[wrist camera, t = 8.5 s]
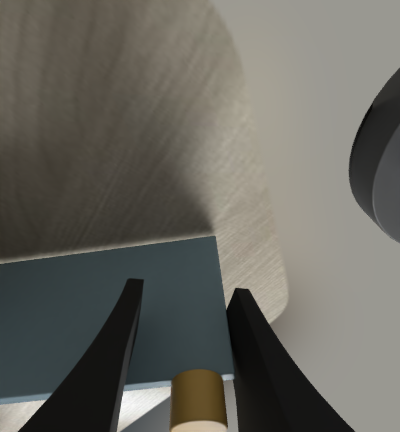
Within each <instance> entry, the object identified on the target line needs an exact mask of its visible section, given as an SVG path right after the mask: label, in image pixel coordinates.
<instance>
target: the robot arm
mask: <svg viewBox="0 0 400 432" xmlns="http://www.w3.org/2000/svg"><path fill="white" fill-rule="evenodd" d="M143 285H144V279H135V278H129V279H127V281H126V284H125V286H124V289H123V291H122V293H121V295H120V297H119V299H118V301H117V303H116V305H115V307H114V308H113V310H112V312H111V314H110V315H109V317H108V319H107V320H106V322H105V324H104V325H103V327H102V328H101V330H100V331H99V333H98V334H97V336H96V337H95V339H94V340H93V342H92V343H91V345H90V346H89V348H88V349H87V350H86V352H85V353H84V355H83V356H82V357H81V359H80V360H79V361H78V363H77V364H76V365H75V366H74V368H73V369H72V370H71V372H70V373H69V374H68V375H67V376H66V378H65V379H64V380H63V381H62V383H61V384H60V385H59V386H58V388H57V389H56V390H55V391H54V392H53V393H52V395H51V396H50V397H49V398H48V399H47V400H46V401H45V403H44V404H43V405H42V406H41V407H40V408H39V409H38V410H37V411H36V413H35V414H34V415H33V416H32V417H31V418H30V419H29V420H28V421H27V422H26V424H25V425H24V426H23V427H22V428H21V429H20V430H19V431H18V432H117V426H118V420H119V413H120V407H121V401H122V395H123V390H124V386H125V381H126V377H127V373H128V369H129V365H130V361H131V356H132V352H133V348H134V344H135V340H136V335H137V331H138V324H139V317H140V310H141V302H142V293H143ZM226 312H227V319H228V327H229V334H230V341H231V348H232V355H233V362H234V369H235V376H236V377H235V379H233V383H234V389H235V396H236V405H237V416H238V430H239V432H355V431H354V430H353V429H352V428H351V427H350V426H349V425H348V424H347V423H346V422H345V421H344V420H343V419H342V418H341V417H340V416H339V415H338V413H337V412H336V411H335V410H334V409H333V408H332V407H331V406H330V405H329V404H328V402H327V401H326V400H325V399H324V398H323V397H322V396H321V395H320V394H319V392H317V390H316V389H315V388H314V386H313V385H312V384H311V383H310V382H309V380H308V379H307V378H306V377H305V375H304V374H303V373H302V371H301V370H300V369H299V368H298V366H297V365H296V364H295V362H294V361H293V360H292V358H291V357H290V356H289V354H288V353H287V351H286V350H285V348H284V347H283V345H282V344H281V342H280V341H279V339H278V338H277V336H276V335H275V333H274V332H273V330H272V328H271V327H270V325H269V323H268V322H267V320H266V318H265V317H264V315H263V313H262V312H261V310H260V308H259V306H258V305H257V303H256V301H255V299H254V298H253V296H252V294H251V292H250V291H249V289H242V288H235V291H234V293H233V295H232V298H231V300H230V303H229V305H228V308H227V310H226Z"/></svg>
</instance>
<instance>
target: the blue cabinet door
mask: <svg viewBox="0 0 400 432" xmlns="http://www.w3.org/2000/svg"><path fill="white" fill-rule="evenodd" d="M129 278H135V279H144V285H143V293H142V302H141V310H140V317H139V324H138V331H137V335H136V340H135V344H134V348H133V352H132V356H131V361H130V365H129V369H128V373H127V377H126V381H125V386H124V390H123V391H131V390H140V389H149V388H159V387H168V386H171V402H170V428H169V430H170V432H226V431H227V428H228V425H227V424H228V423H227V414H226V405H225V395H224V385H223V380H233V379H235V377H236V376H235V369H234V362H233V355H232V348H231V341H230V334H229V327H228V319H227V312H226V305H225V298H224V291H223V284H222V277H221V270H220V263H219V256H218V249H217V242H216V237H215V236H210V237H202V238H195V239H187V240H179V241H172V242H164V243H156V244H149V245H141V246H134V247H126V248H118V249H111V250H103V251H95V252H88V253H80V254H72V255H65V256H57V257H50V258H42V259H34V260H27V261H19V262H11V263H4V264H0V405H1V404H11V403H20V402H29V401H38V400H47V399H48V398H49V397H50V396H51V395H52V393H53V392H54V391H55V390H56V389H57V388H58V386H59V385H60V384H61V383H62V381H63V380H64V379H65V378H66V376H67V375H68V374H69V373H70V372H71V370H72V369H73V368H74V366H75V365H76V364H77V363H78V361H79V360H80V359H81V357H82V356H83V355H84V353H85V352H86V350H87V349H88V348H89V346H90V345H91V343H92V342H93V340H94V339H95V337H96V336H97V334H98V333H99V331H100V330H101V328H102V327H103V325H104V324H105V322H106V320H107V319H108V317H109V315H110V314H111V312H112V310H113V308H114V307H115V305H116V303H117V301H118V299H119V297H120V295H121V293H122V291H123V289H124V286H125V284H126V281H127V279H129Z"/></svg>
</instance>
